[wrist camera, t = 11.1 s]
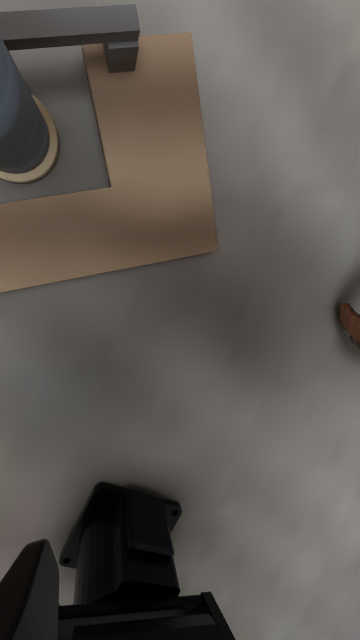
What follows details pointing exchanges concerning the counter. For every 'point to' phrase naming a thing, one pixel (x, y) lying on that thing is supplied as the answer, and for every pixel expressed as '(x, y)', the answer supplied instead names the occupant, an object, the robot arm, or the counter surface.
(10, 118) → the spool
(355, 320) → the pottery mug
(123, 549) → the robot arm
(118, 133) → the board
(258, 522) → the counter surface
